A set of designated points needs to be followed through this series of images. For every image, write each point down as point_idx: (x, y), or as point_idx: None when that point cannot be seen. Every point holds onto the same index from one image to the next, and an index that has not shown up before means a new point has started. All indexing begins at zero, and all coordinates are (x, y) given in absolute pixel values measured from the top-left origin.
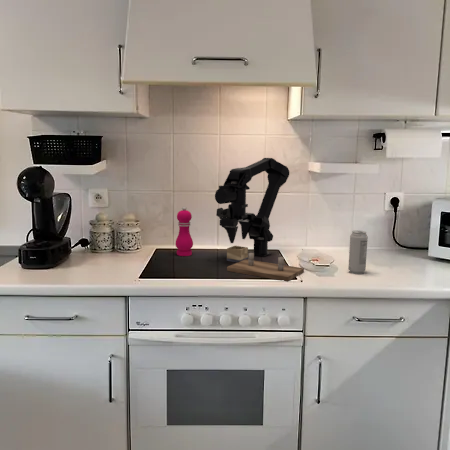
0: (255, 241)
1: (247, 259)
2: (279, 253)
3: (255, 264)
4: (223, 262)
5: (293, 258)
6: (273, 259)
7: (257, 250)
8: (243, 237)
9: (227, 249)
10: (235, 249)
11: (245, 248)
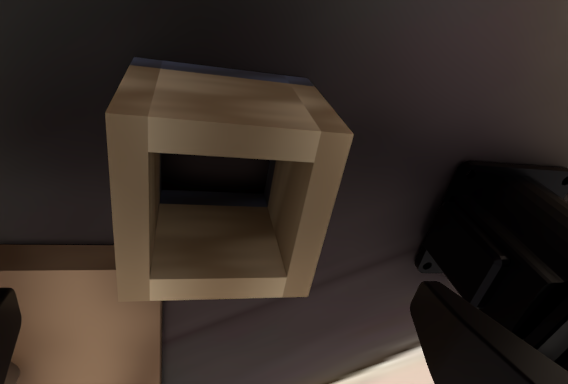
0: (527, 294)
1: None
2: None
3: (44, 380)
4: (28, 54)
5: (417, 379)
6: (361, 327)
7: (446, 257)
8: (427, 316)
9: (108, 113)
10: (114, 245)
11: (251, 295)
